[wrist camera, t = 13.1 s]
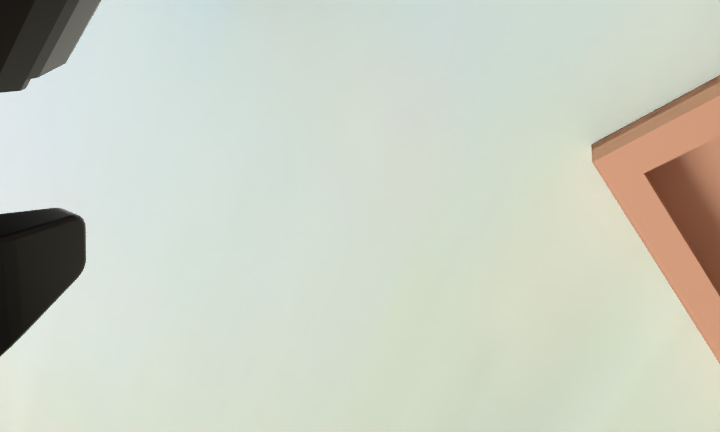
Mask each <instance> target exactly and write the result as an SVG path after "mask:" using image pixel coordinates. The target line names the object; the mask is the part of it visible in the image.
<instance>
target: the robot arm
mask: <svg viewBox="0 0 720 432" xmlns="http://www.w3.org/2000/svg"><path fill="white" fill-rule="evenodd" d="M100 2H101V0H0V92H10V91H21V90H23V89H25V88H26V87H27V85H28V83H29V81H30V79H32V78H37V77H40V76H42V75H44V74H45V73H47V72H49V71H51V70H53V69H55V68H57V67H59V66H61V65H63V64H65V63H66V61H67V60H68V58H69V56H70V55H71V53H72V51H73V50H74V48H75V46H76V44H77V43H78V41H79V39H80V37H81V36H82V34H83V32H84V30H85V28H86V27H87V25H88V23H89V21H90V19H91V18H92V16H93V14H94V12H95V11H96V9H97V7H98V5H99V3H100ZM85 263H86V229H85V222H84V220H83V218H81V217H80V216H79V215H77V214H74V213H72V212H69V211H67V210H64V209H61V208H49V209H41V210H32V211H23V212H14V213H5V214H0V356H1V355H3V354H4V353H5V352H6V351H7V350H8V349H9V348H10V347H11V346H12V345H13V344H14V343H15V342H16V341H17V340H18V339H19V338H20V337H21V336H22V335H23V334H24V333H25V332H26V331H27V330H28V329H29V328H30V327H31V326H32V325H33V324H34V323H35V322H36V321H37V320H38V319H39V318H40V317H41V316H42V314H43V313H44V312H45V311H46V310H47V309H48V308H49V307H50V306H51V305H52V304H53V303H54V302H55V301H56V300H57V299H58V298H59V297H60V296H61V295H62V294H63V293H64V291H65V290H66V289H67V288H68V287H69V286H70V285H71V284H72V283H73V282H74V281H75V280H76V279H77V278H78V277H79V275H80V274H81V272H82V271H83V269H84V266H85Z"/></svg>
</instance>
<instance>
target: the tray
mask: <svg viewBox="0 0 720 432" xmlns="http://www.w3.org/2000/svg"><path fill="white" fill-rule="evenodd" d="M592 162H593V164H594V166H595V167H596V169H597V170H598V172H599V173H600V175H601V177H602V178H603V180H604V181H605V183H606V184H607V186H608V188H609V189H610V191H611V192H612V194H613V196H614V197H615V199H616V200H617V202H618V203H619V205H620V207H621V208H622V210H623V211H624V213H625V215H626V216H627V218H628V219H629V221H630V222H631V224H632V226H633V227H634V229H635V230H636V232H637V234H638V235H639V237H640V238H641V240H642V241H643V243H644V245H645V246H646V248H647V249H648V251H649V253H650V254H651V256H652V257H653V259H654V260H655V262H656V264H657V265H658V267H659V268H660V270H661V272H662V273H663V275H664V276H665V278H666V279H667V281H668V283H669V284H670V286H671V287H672V289H673V290H674V292H675V294H676V295H677V297H678V298H679V300H680V302H681V303H682V305H683V306H684V308H685V309H686V311H687V313H688V314H689V316H690V317H691V319H692V321H693V322H694V324H695V325H696V327H697V328H698V330H699V332H700V333H701V335H702V336H703V338H704V340H705V341H706V343H707V344H708V346H709V347H710V349H711V351H712V352H713V354H714V355H715V357H716V359H717V360H718V362H719V363H720V76H718V77H716V78H714V79H712V80H711V81H709V82H707V83H705V84H703V85H701V86H699V87H698V88H696V89H694V90H692V91H690V92H688V93H686V94H685V95H683V96H681V97H679V98H677V99H675V100H674V101H672V102H670V103H668V104H666V105H664V106H662V107H661V108H659V109H657V110H655V111H653V112H651V113H649V114H648V115H646V116H644V117H642V118H640V119H638V120H636V121H635V122H633V123H631V124H629V125H627V126H625V127H623V128H622V129H620V130H618V131H616V132H614V133H612V134H610V135H609V136H607V137H605V138H603V139H601V140H599V141H597V142H596V143H594V144H592Z"/></svg>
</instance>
